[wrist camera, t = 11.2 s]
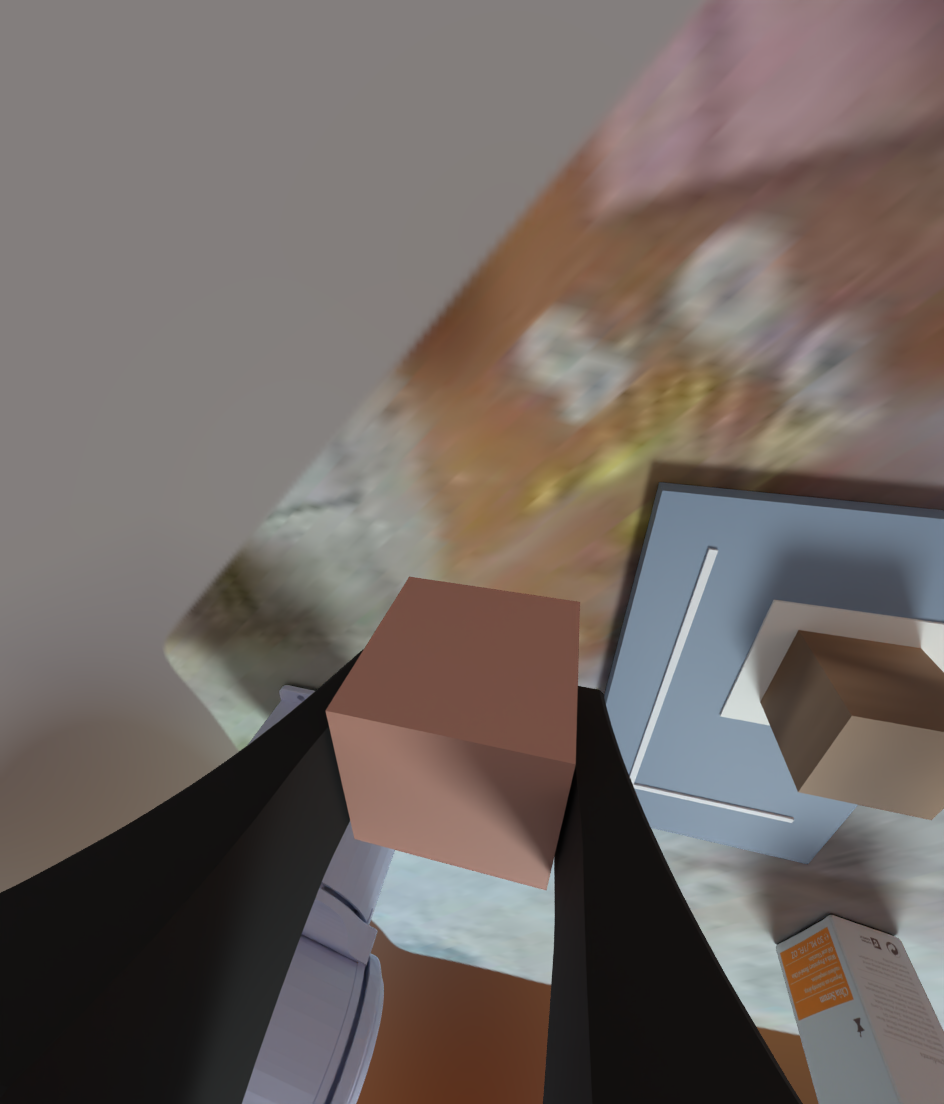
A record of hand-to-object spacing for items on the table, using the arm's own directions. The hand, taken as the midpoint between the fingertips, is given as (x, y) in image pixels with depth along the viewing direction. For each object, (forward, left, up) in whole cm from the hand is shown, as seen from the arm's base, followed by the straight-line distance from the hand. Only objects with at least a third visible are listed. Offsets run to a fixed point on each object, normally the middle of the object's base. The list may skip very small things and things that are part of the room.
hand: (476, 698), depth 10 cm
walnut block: (+13, -5, -8) cm, 16 cm away
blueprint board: (+11, -8, -9) cm, 16 cm away
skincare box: (+22, -27, -10) cm, 36 cm away
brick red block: (0, 0, -2) cm, 2 cm away
